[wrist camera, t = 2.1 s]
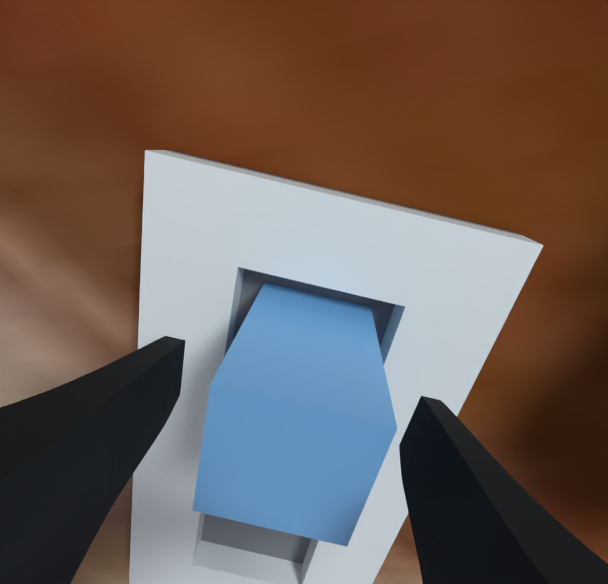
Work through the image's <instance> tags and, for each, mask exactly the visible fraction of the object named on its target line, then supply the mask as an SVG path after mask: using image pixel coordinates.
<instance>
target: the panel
mask: <svg viewBox="0 0 608 584" xmlns="http://www.w3.org/2000/svg"><path fill="white" fill-rule="evenodd" d="M542 247H543V245H542V244H539V243H537V242H535V241H533V240H531V239H529V238H527V237H525V236H522V235H520V234H518V233H515V232H510V231H506V230H502V229H498V228H494V227H489V226H485V225H481V224H477V223H473V222H469V221H464V220H460V219H456V218H452V217H448V216H443V215H439V214H435V213H431V212H427V211H422V210H418V209H414V208H410V207H406V206H402V205H397V204H393V203H389V202H385V201H381V200H376V199H372V198H368V197H364V196H360V195H355V194H351V193H347V192H343V191H339V190H335V189H330V188H326V187H322V186H318V185H314V184H309V183H305V182H301V181H297V180H293V179H288V178H284V177H280V176H276V175H272V174H268V173H263V172H259V171H255V170H251V169H247V168H242V167H238V166H234V165H230V164H226V163H221V162H217V161H213V160H209V159H205V158H201V157H196V156H192V155H188V154H184V153H180V152H175V151H171V150H145V167H144V194H143V221H142V248H141V275H140V302H139V329H138V349H140V348H142V347H144V346H146V345H148V344H150V343H152V342H154V341H156V340H158V339H160V338H162V337H164V336H169V337H173V338H178V339H182V340H186V341H185V351H184V361H183V371H182V382H181V392H180V396H179V398H178V400H177V402H176V404H175V406H174V408H173V410H172V412H171V414H170V416H169V418H168V420H167V422H166V424H165V426H164V427H163V429H162V430H161V432H160V434H159V435H158V437H157V438H156V440H155V441H154V443H153V444H152V446H151V447H150V449H149V450H148V452H147V453H146V455H145V456H144V458H143V459H142V461H141V462H140V464H139V465H138V467H137V468H136V470H135V471H134V473H133V490H132V517H131V544H130V571H129V583H130V584H372V583H373V581H374V579H375V578H376V576H377V574H378V572H379V570H380V568H381V566H382V564H383V562H384V560H385V558H386V556H387V554H388V552H389V550H390V548H391V546H392V544H393V542H394V540H395V538H396V536H397V534H398V532H399V530H400V528H401V526H402V524H403V522H404V520H405V518H406V516H407V514H408V508H407V503H406V498H405V493H404V488H403V483H402V476H401V466H400V452H399V445H400V442H401V440H402V438H403V436H404V433H405V431H406V429H407V427H408V424H409V422H410V420H411V417H412V415H413V413H414V411H415V408H416V406H417V404H418V402H419V399H420V397H421V396H425V397H429V398H433V399H438V400H441V401H442V402H443V403H444V404H445V405H446V406H447V407H448V408H449V409H450V410H451V411H452V412H453V413H454V414H455V415H456V416H457V415H458V413H459V411H460V409H461V407H462V405H463V403H464V401H465V399H466V398H467V396H468V394H469V392H470V390H471V388H472V386H473V384H474V382H475V380H476V378H477V376H478V374H479V372H480V370H481V368H482V366H483V364H484V362H485V360H486V358H487V356H488V354H489V352H490V350H491V348H492V346H493V344H494V342H495V340H496V338H497V336H498V334H499V332H500V330H501V328H502V326H503V324H504V322H505V320H506V318H507V316H508V314H509V312H510V310H511V308H512V307H513V305H514V303H515V301H516V299H517V297H518V295H519V293H520V291H521V289H522V287H523V285H524V283H525V281H526V279H527V277H528V275H529V273H530V271H531V269H532V267H533V265H534V263H535V261H536V259H537V257H538V255H539V253H540V251H541V249H542ZM264 282H265V283H269V284H274V285H278V286H282V287H286V288H291V289H295V290H299V291H303V292H307V293H312V294H316V295H320V296H324V297H329V298H333V299H337V300H341V301H345V302H350V303H354V304H358V305H362V306H366V307H371V310H372V314H373V319H374V323H375V328H376V333H377V337H378V342H379V346H380V351H381V356H382V360H383V365H384V369H385V374H386V378H387V383H388V388H389V392H390V397H391V401H392V406H393V410H394V415H395V420H396V424H397V431H396V433H395V435H394V438H393V440H392V442H391V445H390V447H389V449H388V452H387V454H386V457H385V459H384V461H383V464H382V466H381V468H380V471H379V473H378V475H377V478H376V480H375V482H374V485H373V487H372V489H371V492H370V494H369V496H368V499H367V501H366V503H365V506H364V508H363V510H362V513H361V515H360V517H359V520H358V522H357V525H356V527H355V529H354V532H353V534H352V536H351V539H350V541H349V543H348V546H347V547H346V546H342V545H337V544H333V543H329V542H324V541H320V540H316V539H312V538H307V537H303V536H299V535H294V534H290V533H286V532H282V531H277V530H273V529H269V528H264V527H260V526H256V525H252V524H247V523H243V522H239V521H234V520H230V519H226V518H222V517H217V516H213V515H209V514H204V513H200V512H196V511H192V510H193V503H194V496H195V488H196V481H197V474H198V467H199V460H200V453H201V445H202V438H203V431H204V424H205V417H206V410H207V402H208V395H209V388H210V383H211V382H212V380H213V378H214V376H215V374H216V372H217V370H218V368H219V367H220V365H221V363H222V361H223V359H224V357H225V355H226V354H227V352H228V350H229V348H230V346H231V344H232V342H233V340H234V339H235V337H236V335H237V333H238V331H239V329H240V327H241V325H242V324H243V322H244V320H245V318H246V316H247V314H248V312H249V310H250V309H251V307H252V305H253V303H254V301H255V299H256V297H257V296H258V294H259V292H260V290H261V288H262V286H263V284H264Z"/></svg>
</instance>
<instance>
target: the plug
mask: <svg viewBox="0 0 608 584" xmlns="http://www.w3.org/2000/svg"><path fill="white" fill-rule="evenodd" d="M396 431H397V424H396V420H395V415H394V410H393V406H392V401H391V397H390V392H389V388H388V383H387V378H386V374H385V369H384V365H383V360H382V356H381V351H380V346H379V342H378V337H377V333H376V328H375V323H374V319H373V314H372V310H371V307H366V306H362V305H358V304H354V303H350V302H345V301H341V300H337V299H333V298H329V297H324V296H320V295H316V294H312V293H307V292H303V291H299V290H295V289H291V288H286V287H282V286H278V285H274V284H269V283H265V282H264V284H263V286H262V288H261V290H260V292H259V294H258V296H257V297H256V299H255V301H254V303H253V305H252V307H251V309H250V310H249V312H248V314H247V316H246V318H245V320H244V322H243V324H242V325H241V327H240V329H239V331H238V333H237V335H236V337H235V339H234V340H233V342H232V344H231V346H230V348H229V350H228V352H227V354H226V355H225V357H224V359H223V361H222V363H221V365H220V367H219V368H218V370H217V372H216V374H215V376H214V378H213V380H212V382H211V383H210V388H209V395H208V402H207V410H206V417H205V424H204V431H203V438H202V445H201V453H200V460H199V467H198V474H197V481H196V488H195V496H194V503H193V510H192V511H196V512H200V513H204V514H209V515H213V516H217V517H222V518H226V519H230V520H234V521H239V522H243V523H247V524H252V525H256V526H260V527H264V528H269V529H273V530H277V531H282V532H286V533H290V534H294V535H299V536H303V537H307V538H312V539H316V540H320V541H324V542H329V543H333V544H337V545H342V546H346V547H347V546H348V543H349V541H350V539H351V536H352V534H353V532H354V529H355V527H356V525H357V522H358V520H359V517H360V515H361V513H362V510H363V508H364V506H365V503H366V501H367V499H368V496H369V494H370V492H371V489H372V487H373V485H374V482H375V480H376V478H377V475H378V473H379V471H380V468H381V466H382V464H383V461H384V459H385V457H386V454H387V452H388V449H389V447H390V445H391V442H392V440H393V438H394V435H395V433H396Z"/></svg>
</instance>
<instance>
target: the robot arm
mask: <svg viewBox="0 0 608 584" xmlns="http://www.w3.org/2000/svg"><path fill="white" fill-rule="evenodd" d="M185 341H186V340H182V339H178V338H173V337H169V336H164V337H162V338H160V339H158V340H156V341H154V342H152V343H150V344H148V345H146V346H144V347H142V348H140V349H138V350H136V351H134V352H132V353H130V354H128V355H126V356H124V357H122V358H120V359H118V360H116V361H114V362H112V363H110V364H108V365H106V366H104V367H102V368H100V369H98V370H95V371H93V372H91V373H89V374H86V375H84V376H82V377H80V378H77V379H75V380H73V381H71V382H69V383H66V384H64V385H61V386H59V387H57V388H54V389H51V390H49V391H46V392H44V393H41V394H38V395H36V396H33V397H30V398H27V399H24V400H22V401H19V402H16V403H13V404H10V405H7V406H4V407H1V408H0V584H70V583H71V581H72V579H73V577H74V575H75V573H76V571H77V569H78V568H79V566H80V564H81V562H82V560H83V558H84V556H85V554H86V552H87V550H88V549H89V547H90V545H91V543H92V541H93V539H94V538H95V536H96V534H97V532H98V530H99V528H100V527H101V525H102V523H103V521H104V519H105V517H106V515H107V514H108V512H109V510H110V509H111V507H112V505H113V504H114V502H115V500H116V499H117V497H118V496H119V494H120V493H121V491H122V489H123V488H124V486H125V485H126V483H127V482H128V480H129V479H130V477H131V476H132V474H133V473H134V471H135V470H136V468H137V467H138V465H139V464H140V462H141V461H142V459H143V458H144V456H145V455H146V453H147V452H148V450H149V449H150V447H151V446H152V444H153V443H154V441H155V440H156V438H157V437H158V435H159V434H160V432H161V430H162V429H163V427H164V426H165V424H166V422H167V420H168V418H169V416H170V414H171V412H172V410H173V408H174V406H175V404H176V402H177V400H178V398H179V396H180V392H181V382H182V371H183V361H184V351H185ZM399 452H400V466H401V476H402V483H403V488H404V493H405V498H406V503H407V508H408V512H409V517H410V522H411V526H412V531H413V536H414V540H415V545H416V550H417V554H418V559H419V564H420V569H421V575H422V580H423V584H608V564H607V563H606V562H605V561H603V560H602V559H601V558H600V557H598V556H597V555H596V554H595V553H594V552H592V551H591V550H590V549H589V548H588V547H586V546H585V545H584V544H583V543H582V542H581V541H579V540H578V539H577V538H576V537H575V536H574V535H572V534H571V533H570V532H569V531H568V530H567V529H566V528H565V527H564V526H562V525H561V524H560V523H559V522H558V521H557V520H556V519H555V518H554V517H553V516H551V515H550V514H549V513H548V512H547V511H546V510H545V509H544V508H543V507H542V506H541V505H540V504H538V503H537V502H536V501H535V500H534V499H533V498H532V497H531V496H530V495H529V494H528V493H527V492H526V491H525V490H524V489H523V488H522V487H521V486H520V485H519V484H518V483H517V482H516V481H515V480H514V479H513V478H512V477H511V476H510V475H509V474H508V473H507V471H506V470H505V469H504V468H503V467H502V466H501V465H500V464H499V463H498V462H497V461H496V460H495V459H494V458H493V457H492V455H491V454H490V453H489V452H488V451H487V450H486V449H485V448H484V447H483V446H482V444H481V443H480V442H479V441H478V440H477V439H476V438H475V437H474V436H473V434H472V433H471V432H470V431H469V430H468V429H467V428H466V427H465V425H464V424H463V423H462V422H461V421H460V420H459V419H458V418H457V416H456V415H455V414H454V413H453V412H452V411H451V410H450V409H449V408H448V407H447V406H446V405H445V404H444V403H443V402H442V401H441V400H438V399H433V398H429V397H425V396H421V397H420V399H419V402H418V404H417V406H416V408H415V411H414V413H413V415H412V417H411V420H410V422H409V424H408V427H407V429H406V431H405V433H404V436H403V438H402V440H401V442H400V445H399Z"/></svg>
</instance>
